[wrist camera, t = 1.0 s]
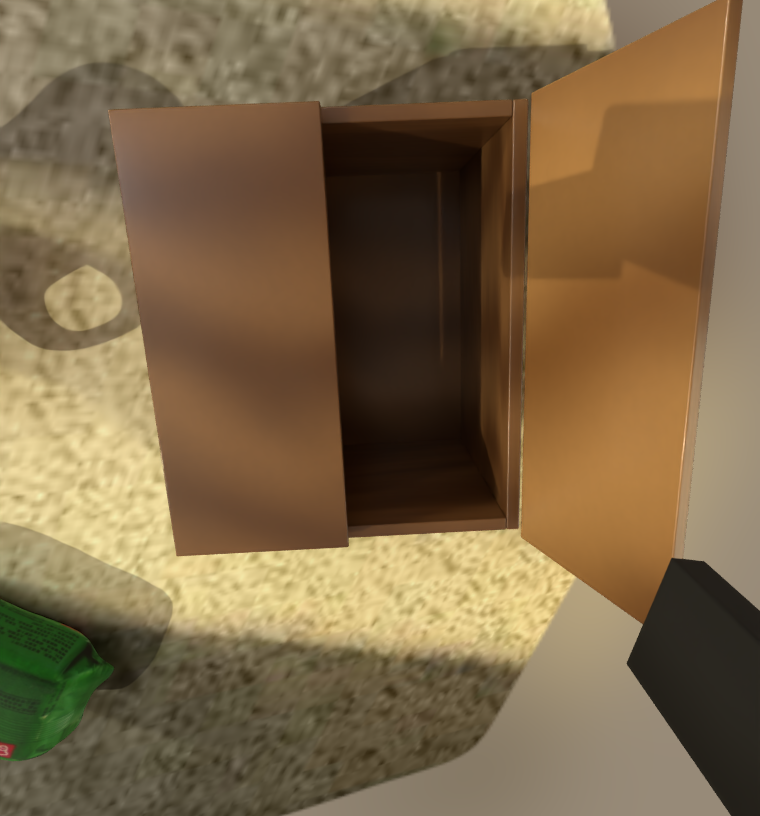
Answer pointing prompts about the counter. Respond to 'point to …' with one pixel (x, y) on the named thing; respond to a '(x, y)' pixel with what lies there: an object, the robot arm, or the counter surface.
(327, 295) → the carton
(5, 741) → the snack package
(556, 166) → the flap
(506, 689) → the counter surface
